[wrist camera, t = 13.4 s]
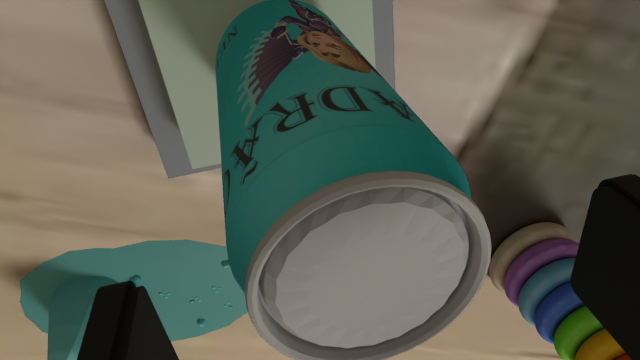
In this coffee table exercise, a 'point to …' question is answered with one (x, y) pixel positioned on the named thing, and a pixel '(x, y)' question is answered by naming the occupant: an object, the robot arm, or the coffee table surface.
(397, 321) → the beverage can
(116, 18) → the stepped block
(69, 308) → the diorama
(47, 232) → the coffee table surface
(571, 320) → the stacking toy
